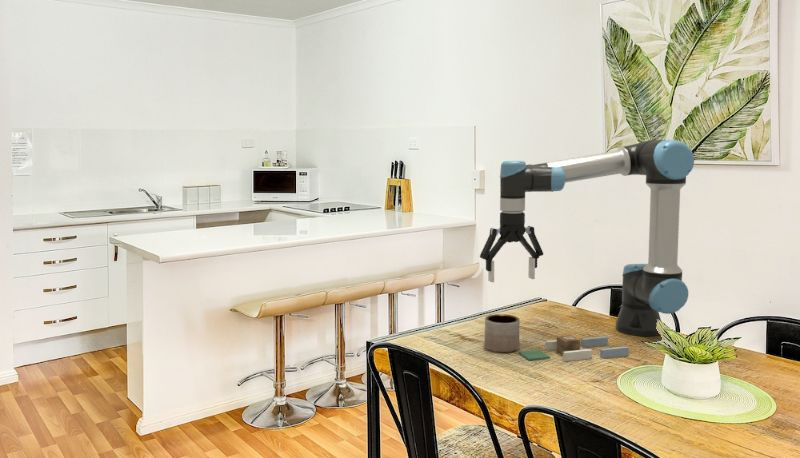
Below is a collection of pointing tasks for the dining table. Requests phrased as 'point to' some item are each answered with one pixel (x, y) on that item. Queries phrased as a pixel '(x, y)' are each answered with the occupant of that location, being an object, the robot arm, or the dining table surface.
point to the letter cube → (567, 344)
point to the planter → (502, 333)
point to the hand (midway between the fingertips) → (511, 280)
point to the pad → (534, 355)
